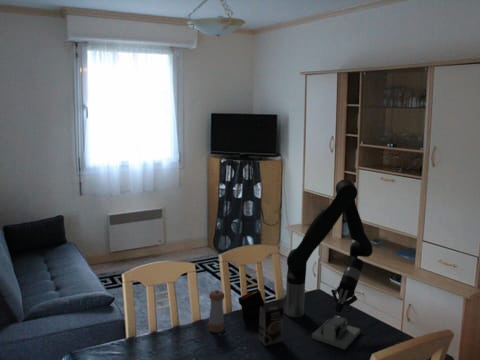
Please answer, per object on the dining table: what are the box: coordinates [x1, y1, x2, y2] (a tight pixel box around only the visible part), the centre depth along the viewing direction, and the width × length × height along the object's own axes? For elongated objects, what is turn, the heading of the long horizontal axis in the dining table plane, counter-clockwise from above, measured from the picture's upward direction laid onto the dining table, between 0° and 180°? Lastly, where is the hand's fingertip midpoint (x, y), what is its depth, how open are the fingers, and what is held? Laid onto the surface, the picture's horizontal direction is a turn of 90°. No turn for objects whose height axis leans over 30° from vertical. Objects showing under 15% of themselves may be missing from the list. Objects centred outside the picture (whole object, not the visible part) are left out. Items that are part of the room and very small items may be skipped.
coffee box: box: [258, 302, 285, 347], centre depth 212 cm, size 9×6×16 cm
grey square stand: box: [311, 318, 361, 350], centre depth 218 cm, size 16×18×8 cm
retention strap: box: [326, 314, 348, 331], centre depth 216 cm, size 6×1×13 cm
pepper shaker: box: [208, 289, 225, 333], centre depth 221 cm, size 7×7×19 cm
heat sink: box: [321, 318, 349, 340], centre depth 217 cm, size 10×8×4 cm
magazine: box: [237, 288, 265, 322], centre depth 232 cm, size 4×13×15 cm, turn 96°
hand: (337, 312), depth 218 cm, fingers closed
